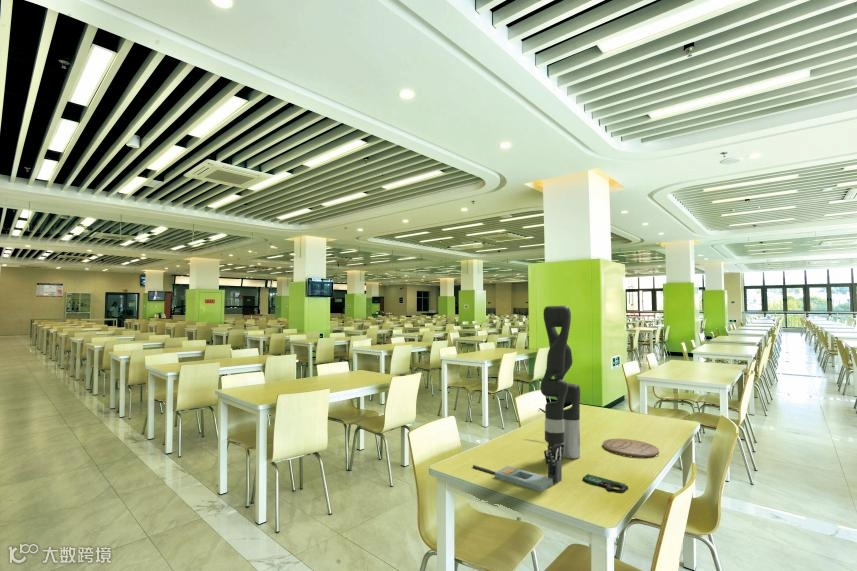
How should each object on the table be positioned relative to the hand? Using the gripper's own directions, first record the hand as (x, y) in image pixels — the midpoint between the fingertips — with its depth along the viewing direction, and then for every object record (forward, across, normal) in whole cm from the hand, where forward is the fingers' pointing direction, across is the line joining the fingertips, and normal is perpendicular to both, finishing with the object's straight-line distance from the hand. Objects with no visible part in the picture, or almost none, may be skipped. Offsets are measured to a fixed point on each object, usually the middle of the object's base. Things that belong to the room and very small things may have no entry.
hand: (554, 473), depth 169 cm
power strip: (+3, +9, -16) cm, 18 cm away
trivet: (+3, -63, +10) cm, 64 cm away
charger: (+3, 0, 0) cm, 3 cm away
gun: (+3, -9, +16) cm, 19 cm away
